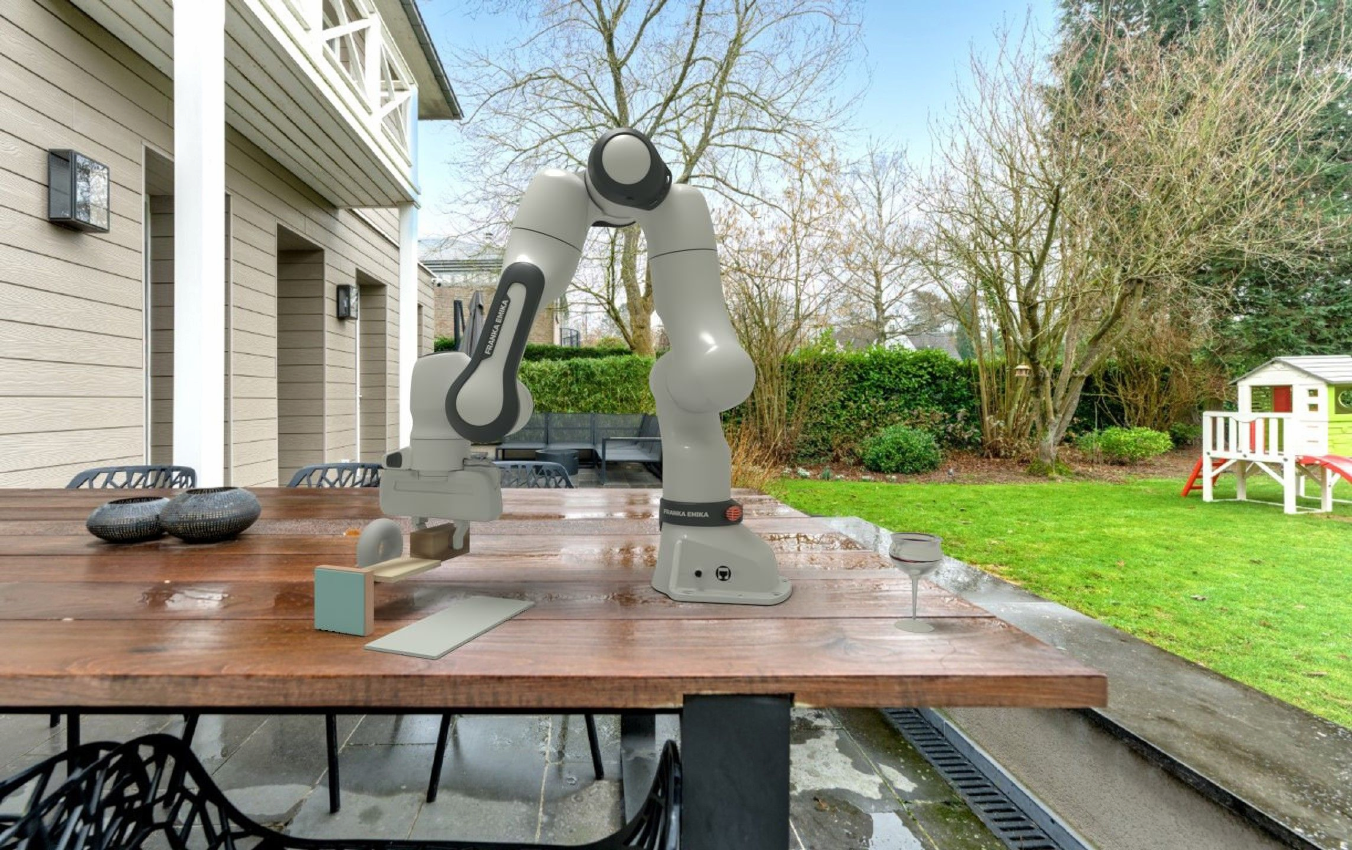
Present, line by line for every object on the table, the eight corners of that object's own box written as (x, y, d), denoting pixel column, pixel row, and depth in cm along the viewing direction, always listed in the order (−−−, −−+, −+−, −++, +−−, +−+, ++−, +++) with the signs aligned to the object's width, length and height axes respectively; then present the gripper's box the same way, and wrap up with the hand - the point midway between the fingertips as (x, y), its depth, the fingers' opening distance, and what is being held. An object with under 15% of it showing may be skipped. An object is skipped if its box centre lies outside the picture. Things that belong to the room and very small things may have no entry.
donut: (370, 587, 103) (370, 524, 103) (351, 586, 104) (351, 523, 103) (407, 571, 113) (407, 514, 113) (389, 570, 114) (389, 513, 113)
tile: (373, 633, 83) (373, 570, 83) (364, 637, 81) (364, 573, 81) (323, 626, 85) (323, 564, 85) (313, 629, 84) (313, 567, 83)
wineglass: (943, 637, 84) (945, 543, 83) (887, 631, 86) (889, 539, 85) (938, 621, 90) (940, 533, 90) (886, 615, 92) (888, 530, 92)
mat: (534, 604, 95) (534, 602, 95) (435, 659, 74) (435, 656, 74) (475, 597, 98) (475, 595, 98) (364, 648, 77) (364, 645, 77)
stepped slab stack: (477, 553, 104) (477, 525, 104) (391, 583, 86) (391, 549, 86) (440, 549, 107) (440, 522, 106) (349, 578, 89) (349, 545, 88)
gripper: (511, 458, 101) (510, 548, 101) (401, 453, 107) (401, 538, 107) (487, 461, 95) (486, 556, 95) (372, 456, 101) (372, 546, 101)
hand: (440, 547), depth 101 cm, fingers closed on stepped slab stack, 4 cm apart
